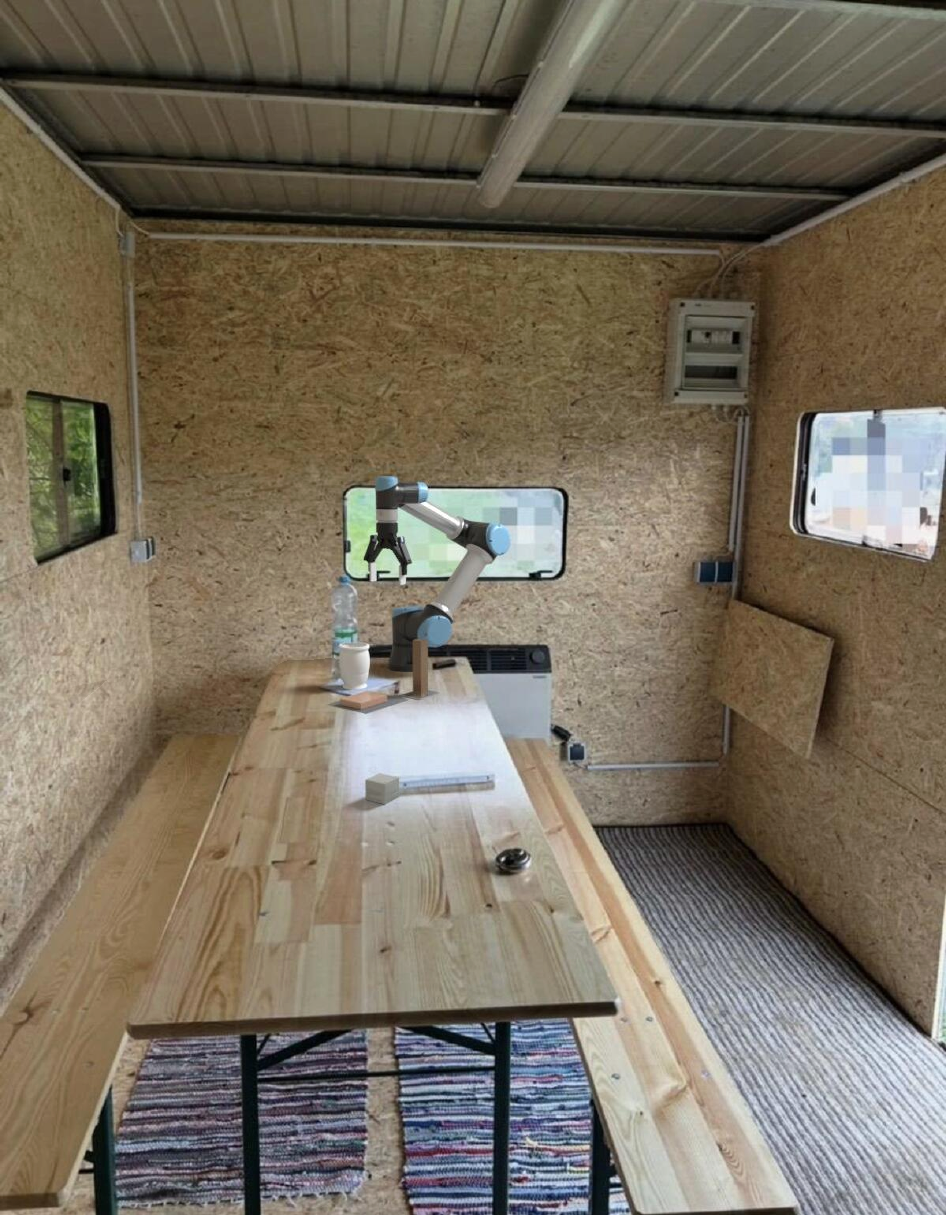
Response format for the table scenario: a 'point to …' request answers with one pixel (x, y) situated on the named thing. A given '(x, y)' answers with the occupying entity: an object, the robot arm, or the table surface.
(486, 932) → the table surface
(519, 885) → the table surface
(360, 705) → the terracotta tile
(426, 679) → the tall wooden post
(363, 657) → the jar
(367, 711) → the slate rubber mat
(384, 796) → the small box
